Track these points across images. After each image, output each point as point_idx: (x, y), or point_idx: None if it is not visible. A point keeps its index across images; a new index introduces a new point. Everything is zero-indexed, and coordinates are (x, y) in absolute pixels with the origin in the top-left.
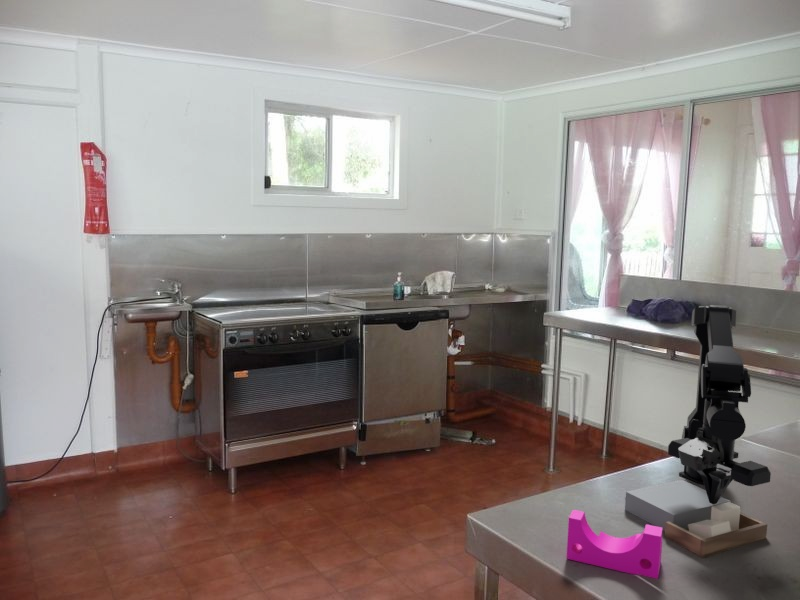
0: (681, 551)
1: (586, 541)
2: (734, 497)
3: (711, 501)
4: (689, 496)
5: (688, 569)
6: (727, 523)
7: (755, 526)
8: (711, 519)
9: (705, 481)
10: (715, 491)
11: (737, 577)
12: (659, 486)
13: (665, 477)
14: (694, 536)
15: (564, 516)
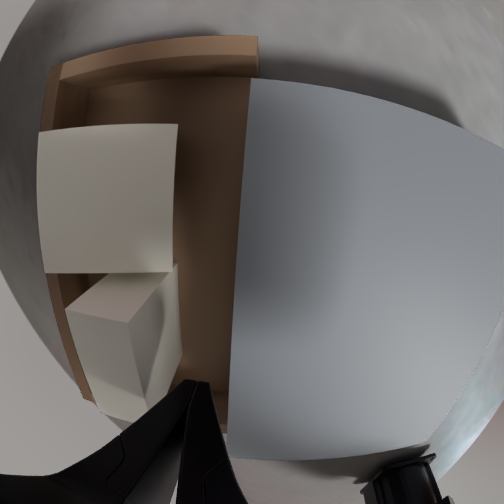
0: None
1: None
2: (308, 477)
3: (190, 386)
4: (355, 388)
5: (87, 5)
6: (45, 257)
7: (74, 363)
8: (154, 287)
9: (211, 488)
10: (129, 430)
11: (12, 102)
12: (477, 348)
13: (454, 429)
14: (88, 55)
15: (484, 3)
